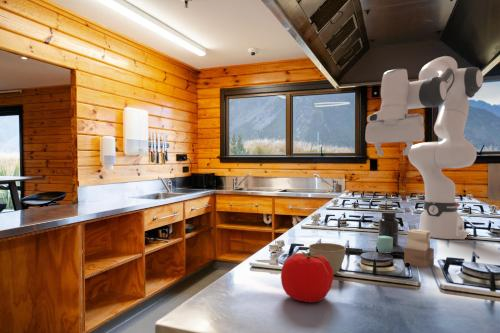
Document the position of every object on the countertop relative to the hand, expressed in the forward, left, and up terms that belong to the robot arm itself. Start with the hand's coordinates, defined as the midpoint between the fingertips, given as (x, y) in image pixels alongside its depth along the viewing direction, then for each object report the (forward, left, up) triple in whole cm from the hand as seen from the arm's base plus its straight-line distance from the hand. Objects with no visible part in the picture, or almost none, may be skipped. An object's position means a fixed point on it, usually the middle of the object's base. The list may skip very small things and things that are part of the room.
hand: (392, 155), depth 122 cm
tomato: (+56, +11, -33) cm, 66 cm away
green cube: (+5, 0, -33) cm, 33 cm away
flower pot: (+38, +2, -33) cm, 50 cm away
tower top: (+10, +14, -28) cm, 33 cm away
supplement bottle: (-6, -5, -33) cm, 34 cm away
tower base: (+10, +14, -33) cm, 37 cm away
